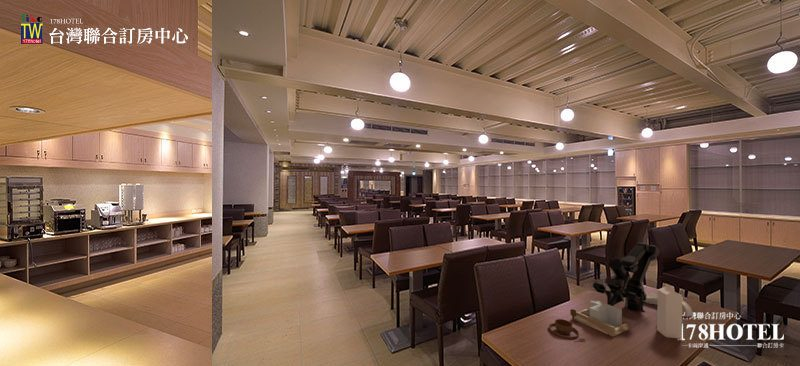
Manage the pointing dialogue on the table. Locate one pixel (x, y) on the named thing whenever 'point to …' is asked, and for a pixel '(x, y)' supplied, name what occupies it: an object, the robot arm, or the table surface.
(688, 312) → the spoon rest
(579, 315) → the birch bay
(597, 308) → the t block
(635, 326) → the table surface
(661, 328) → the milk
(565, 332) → the brown cup and saucer
